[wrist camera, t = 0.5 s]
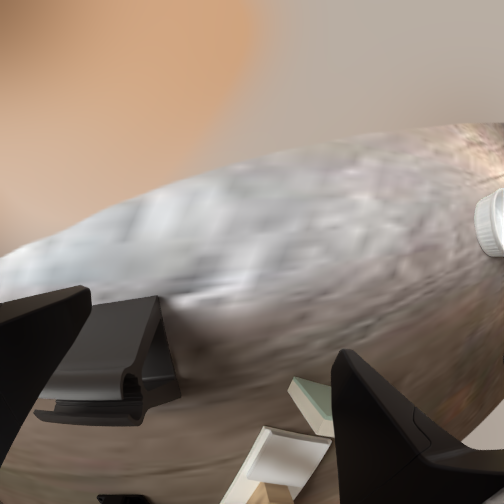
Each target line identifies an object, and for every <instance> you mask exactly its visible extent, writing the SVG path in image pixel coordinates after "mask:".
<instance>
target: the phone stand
mask: <svg viewBox="0 0 504 504" xmlns="http://www.w3.org/2000/svg"><path fill="white" fill-rule="evenodd" d="M38 398H45V399H57V400H56V401H55V402H56V405H55V409H54V411H44V410H35V411H34V412H33V413H34V414H35V416H36V417H37V418H38V419H40V420H41V421H44V422H52V423H61V424H72V425H87V426H140V425H141V424H142V422H143V419H144V416H145V414H146V412H147V410H148V409H149V408H151V407H155V406H158V405H161V404H164V403H167V402H170V401H173V400H175V399H178V398H181V392H180V389H179V385H178V381H177V378H176V374H175V370H174V366H173V362H172V358H171V354H170V350H169V348H168V342H167V337H166V333H165V328H164V323H163V319H162V314H161V309H160V304H159V298H158V296H150V297H144V298H138V299H131V300H125V301H118V302H112V303H105V304H98V305H93V306H92V311H91V314H90V316H89V317H88V319H87V321H86V323H85V324H84V326H83V328H82V330H81V331H80V333H79V335H78V337H77V339H76V340H75V342H74V344H73V345H72V347H71V348H70V350H69V351H68V352H67V354H66V355H65V357H64V358H63V360H62V361H61V363H60V364H59V366H58V367H57V369H56V370H55V372H54V373H53V375H52V376H51V378H50V379H49V381H48V383H47V384H46V386H45V387H44V389H43V390H42V392H41V394H40V395H39V397H38Z"/></svg>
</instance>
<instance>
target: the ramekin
mask: <svg viewBox="0 0 504 504" xmlns="http://www.w3.org/2000/svg"><path fill="white" fill-rule="evenodd" d="M474 224H475V231H476V235H477V239H478V241H479V244H480V246H481V248H482V249H483V251H484V252H485V253H486V254H487V255H489V256H492V257H504V188H500V189H498V190H497V191H495V192H494V193H492V194H490V195H488V196H486V197H484V198H482V199H481V200H480V201H479V202H478V203H477V205H476V208H475V214H474Z"/></svg>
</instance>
